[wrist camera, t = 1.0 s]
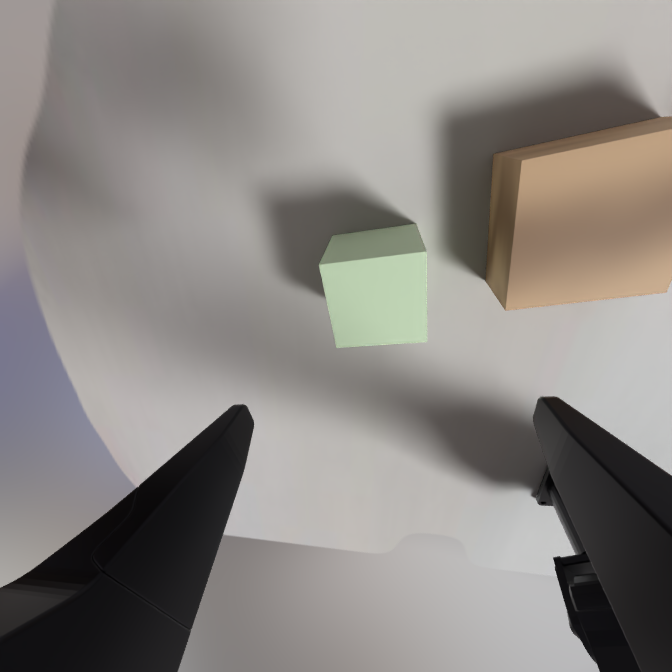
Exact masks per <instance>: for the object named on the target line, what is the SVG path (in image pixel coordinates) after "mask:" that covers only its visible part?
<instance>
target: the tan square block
mask: <svg viewBox="0 0 672 672" xmlns="http://www.w3.org/2000/svg"><path fill="white" fill-rule="evenodd" d="M671 280H672V117H659V118H654V119H650V120H645V121H641V122H636V123H632V124H627V125H623V126H618V127H613V128H609V129H604V130H600V131H595V132H591V133H586V134H582V135H577V136H573V137H568V138H563V139H559V140H554V141H550V142H545V143H541V144H536V145H532V146H527V147H523V148H518V149H513V150H509V151H504V152H500V153H495V154H493V168H492V184H491V200H490V216H489V232H488V248H487V264H486V280H485V281H486V283H487V284H488V286H489V287H490V289H491V290H492V291H493V293H494V294H495V296H496V297H497V299H498V300H499V302H500V303H501V305H502V306H503V308H504V309H505V311H506V310H515V309H524V308H533V307H542V306H551V305H560V304H569V303H578V302H587V301H595V300H604V299H613V298H622V297H631V296H640V295H649V294H658V293H666V292H667V290H668V287H669V285H670V283H671Z"/></svg>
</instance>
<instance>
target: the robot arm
mask: <svg viewBox="0 0 672 672" xmlns="http://www.w3.org/2000/svg"><path fill="white" fill-rule="evenodd" d="M533 422H534V426H535V429H536V432H537V435H538V438H539V441H540V444H541V447H542V450H543V453H544V456H545V459H546V462H547V465H548V468H547V470H546V473H545V476H544V479H543V481H542V484H541V487H540V490H539V492H538V495H537V498H536V500H537V503H538V504H539V505H543V506H554V508H555V510H556V513H557V515H558V517H559V519H560V521H561V524H562V526H563V528H564V530H565V532H566V534H567V537H568V539H569V541H570V543H571V545H572V548H573V550H574V552H575V554H576V555H573V556H567V557H560V556H559V557H553V559H554V563H555V571H556V574H557V578H558V581H559V585H560V588H561V591H562V595H563V598H564V602H565V605H566V609H567V613H568V619H569V625H570V628H571V630H572V632H573V634H574V635H576V636H577V637H578V638H579V639H580V640H581V641H582V643H583V645H584V647H585V649H586V650H587V652H588V653H589V655H590V656H591V658H592V659H593V660H594V661H595V662H596V663H597V665H598V668H599V671H600V672H672V476H671V475H670V474H669V473H667V472H666V471H664V470H663V469H661V468H660V467H658V466H657V465H655V464H654V463H653V462H651V461H650V460H648V459H647V458H645V457H644V456H642V455H641V454H639V453H638V452H637V451H635V450H634V449H632V448H631V447H629V446H628V445H626V444H625V443H624V442H622V441H621V440H619V439H618V438H616V437H615V436H613V435H612V434H610V433H609V432H608V431H606V430H605V429H603V428H602V427H600V426H599V425H597V424H596V423H594V422H593V421H592V420H590V419H589V418H587V417H586V416H584V415H583V414H581V413H580V412H579V411H577V410H576V409H574V408H573V407H571V406H570V405H568V404H567V403H565V402H564V401H563V400H561V399H560V398H558V397H554V396H550V397H540V398H539V399H538V401H537V405H536V408H535V412H534V415H533ZM253 429H254V420H253V418H252V416H251V414H250V412H249V410H248V407H247V406H246V405H244V404H242V405H233V406H232V407H230V408H229V409H228V410H227V411H226V412H225V413H223V414H222V415H221V416H220V417H219V418H218V419H216V420H215V421H214V422H213V423H212V424H210V425H209V426H208V427H207V428H206V429H205V430H203V431H202V432H201V433H200V434H199V435H198V436H196V437H195V438H194V439H193V440H192V441H191V442H189V443H188V444H187V445H186V446H185V447H184V448H182V449H181V450H180V451H179V452H178V453H177V454H175V455H174V456H173V457H172V458H171V459H170V460H168V461H167V462H166V463H165V464H164V465H163V466H161V467H160V468H159V469H158V470H157V471H155V472H154V473H153V474H152V475H151V476H150V477H148V478H147V479H146V480H145V481H144V482H143V483H141V484H140V485H139V487H137V488H136V489H135V490H133V491H132V492H131V493H130V494H128V495H127V496H126V497H125V498H124V499H123V500H121V501H120V502H119V503H118V504H117V505H115V506H114V507H113V508H112V509H110V510H109V511H108V512H107V513H106V514H104V515H103V516H102V517H100V518H99V519H98V520H97V521H95V522H94V523H93V524H92V525H90V526H89V527H88V528H86V529H85V530H84V531H82V532H81V533H80V534H79V535H77V536H76V537H75V538H73V539H72V540H71V541H69V542H68V543H67V544H65V545H64V546H63V547H62V548H60V549H59V550H58V551H56V552H55V553H54V554H52V555H51V556H50V557H48V558H47V559H46V560H44V561H43V562H42V563H41V564H39V565H38V566H36V567H35V568H34V569H32V570H31V571H30V572H28V573H26V574H25V575H23V576H22V577H20V578H18V579H17V580H15V581H13V582H11V583H9V584H7V585H5V586H3V587H1V588H0V672H178V669H179V666H180V663H181V660H182V656H183V654H184V651H185V648H186V645H187V642H188V638H189V635H190V632H191V629H192V626H193V623H194V620H195V617H196V614H197V611H198V608H199V605H200V602H201V599H202V596H203V593H204V590H205V587H206V584H207V581H208V578H209V575H210V572H211V569H212V566H213V563H214V560H215V557H216V554H217V550H218V548H219V545H220V542H221V539H222V536H223V533H224V530H225V527H226V524H227V521H228V518H229V515H230V512H231V509H232V506H233V503H234V500H235V497H236V494H237V491H238V487H239V484H240V481H241V478H242V475H243V472H244V469H245V465H246V460H247V456H248V451H249V447H250V442H251V438H252V433H253Z"/></svg>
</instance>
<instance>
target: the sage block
mask: <svg viewBox="0 0 672 672" xmlns="http://www.w3.org/2000/svg"><path fill="white" fill-rule="evenodd" d="M319 268H320V273H321V277H322V282H323V287H324V291H325V296H326V301H327V306H328V310H329V315H330V320H331V324H332V329H333V334H334V339H335V343H336V348H345V347H360V346H375V345H390V344H405V343H420V342H427V251H426V249H425V246H424V243H423V241H422V238H421V235H420V233H419V230H418V227H417V225H416V224H409V225H402V226H395V227H388V228H381V229H374V230H367V231H360V232H353V233H346V234H339V235H332V238H331V240H330V242H329V244H328V246H327V248H326V250H325V253H324V255H323V257H322V259H321V261H320V263H319Z"/></svg>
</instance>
